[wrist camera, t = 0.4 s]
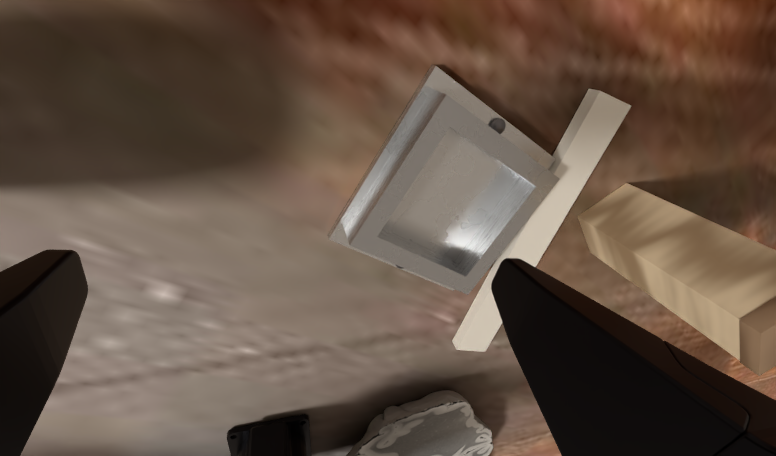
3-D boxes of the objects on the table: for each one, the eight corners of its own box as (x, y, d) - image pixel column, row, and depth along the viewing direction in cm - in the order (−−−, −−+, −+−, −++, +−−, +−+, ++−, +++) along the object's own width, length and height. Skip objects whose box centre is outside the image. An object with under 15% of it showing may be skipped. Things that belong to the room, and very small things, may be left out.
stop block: (589, 252, 31) (759, 376, 20) (576, 216, 29) (760, 333, 18) (636, 221, 31) (833, 330, 20) (626, 182, 29) (845, 280, 18)
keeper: (450, 286, 29) (464, 307, 27) (327, 234, 24) (332, 256, 22) (550, 156, 26) (576, 169, 23) (431, 64, 20) (450, 69, 18)
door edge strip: (479, 343, 33) (485, 351, 32) (452, 341, 32) (456, 349, 31) (619, 103, 25) (631, 105, 24) (588, 88, 24) (600, 90, 23)
